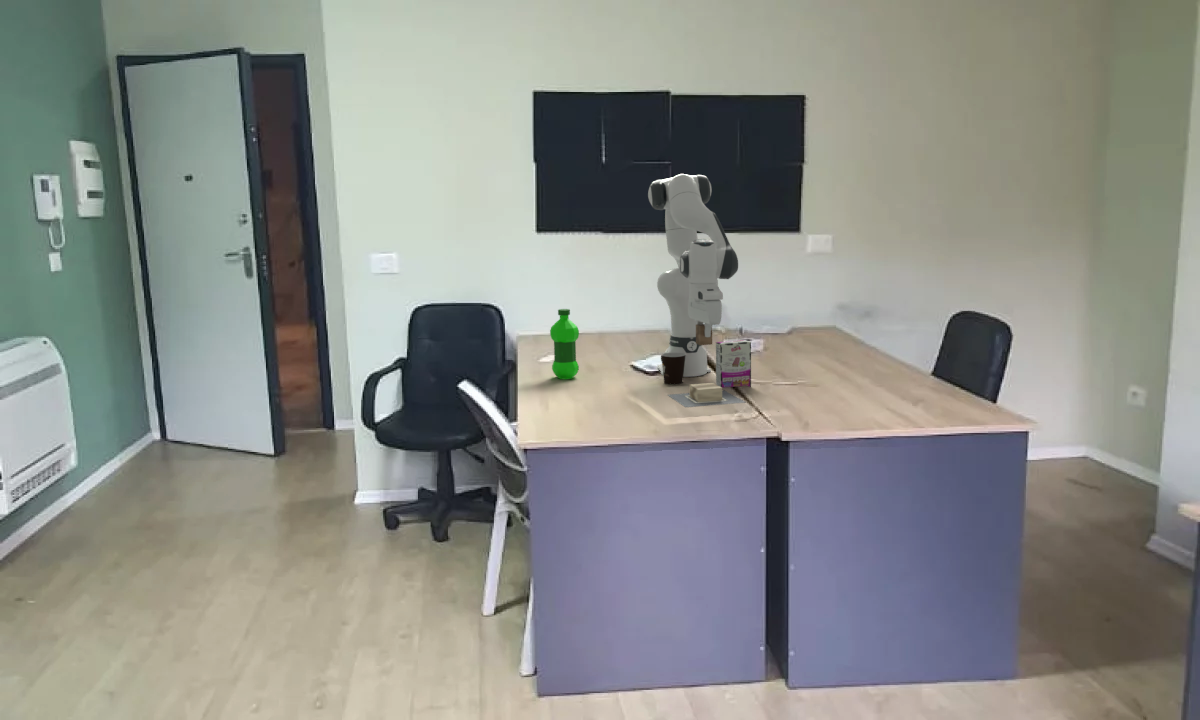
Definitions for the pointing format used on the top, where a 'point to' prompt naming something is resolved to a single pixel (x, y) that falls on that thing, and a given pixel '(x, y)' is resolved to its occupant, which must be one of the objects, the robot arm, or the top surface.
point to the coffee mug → (673, 367)
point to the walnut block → (702, 336)
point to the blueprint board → (689, 402)
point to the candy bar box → (733, 363)
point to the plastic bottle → (564, 346)
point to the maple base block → (705, 392)
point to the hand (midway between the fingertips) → (704, 335)
